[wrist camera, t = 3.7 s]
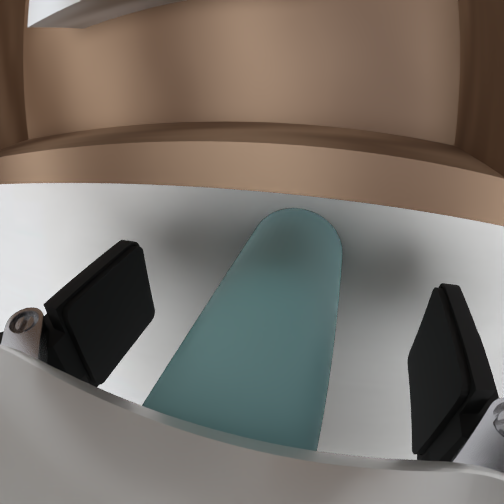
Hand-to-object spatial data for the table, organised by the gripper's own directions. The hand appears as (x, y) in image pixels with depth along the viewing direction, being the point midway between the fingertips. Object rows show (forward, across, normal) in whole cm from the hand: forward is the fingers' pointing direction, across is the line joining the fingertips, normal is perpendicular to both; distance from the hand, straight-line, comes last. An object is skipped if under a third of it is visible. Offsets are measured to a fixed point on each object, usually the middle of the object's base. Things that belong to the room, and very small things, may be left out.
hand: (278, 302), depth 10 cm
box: (+3, +4, -14) cm, 15 cm away
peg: (+3, 0, 0) cm, 3 cm away
